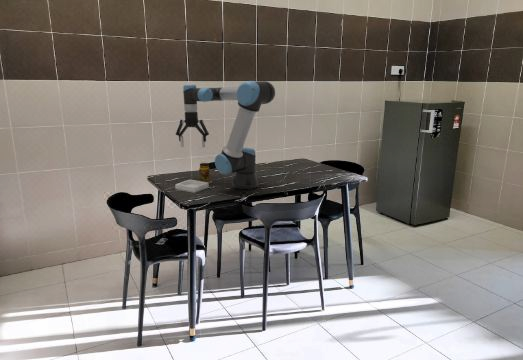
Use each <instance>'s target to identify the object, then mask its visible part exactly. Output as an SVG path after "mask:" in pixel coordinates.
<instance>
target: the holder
mask: <svg viewBox="0 0 523 360" xmlns="http://www.w3.org/2000/svg"><path fill="white" fill-rule="evenodd" d="M209 184H210V183H208V182H202V181H200V180H195V179H194V180H193V179H188V180H187V179H186V180H184V181H181V182H179V183H175V185H174V186H175V188H174V189H175V191H176V190H177V191H182V192H188V193H192V194H196V193H199V192H200V191H204V190H206V189H208V188H210V186H209Z"/></svg>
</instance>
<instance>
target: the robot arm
mask: <svg viewBox="0 0 523 360" xmlns="http://www.w3.org/2000/svg"><path fill="white" fill-rule="evenodd" d="M182 93H183V103H184V105H183V107H184V109H183V111H184V119H179V125H178V127H177V129H176V131H175V136H178V141H179V142H180V147H181V148H183V147H185V144H184V143H185V142H184V135H183V134H184V133H185V132H186V131H187V129H188V128H196V129H197V131H198V132H199V133H200V134H201V135H202V136H201V145H202V147H201V148H206V142H207V136H209V135H210V133H209V130H208V129H207V127H206V125H205V124H204V120H203V119H199V115H198V102H203V103H206V102H207V103H208V102H213V101H214V102H215V101H217V102H218V101H219V102H221V101H223V102H225V101H238V102H237V105H238V106H239V108H238V111H237V114H236V117H235V120H234V121H233V122H234V123H233V126H232V129H231V132H230V134H229V138H228V140H227V144H226V145H225V146H223V147H222V150H221V153H218V154H217V155H216V156H215V158H214V165H215V169H216V170H217V172H219V174H221V175H231V174H233V173H235V175H234V178H233V181H232V188H233V189H236V188H237V190H243V189H248V190H254V189H253V188H255V189H257V188H258V187H259V181H258V177H257V174H256V157H257V155H256V150H255V149H253V148H250V147H244V144H245V142H246V139H247V137H248V133H249V131H250V128H251V125H252V123H253V120H254V118H255V114H256V113H258V112H260V109H261V106H262V105H266V104H270V103H271V102H272V101H273V100H274V99H275V96H276V88H275V87H274V85H273V84H272V83H271V82H269V81H263V80H261V81H259V80H258V81H257V80H256V81H254V80H248V81H245V82H242V83H241V84H240V85H239V86H228V87H227V86H226V87H197V85H196V84H185V85H183V91H182ZM184 123H185V125H184ZM199 124H200V125H199ZM183 126H184V127H183ZM200 126H201V127H200ZM256 187H257V188H256Z"/></svg>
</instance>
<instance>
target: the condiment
mask: <svg viewBox="0 0 523 360" xmlns="http://www.w3.org/2000/svg"><path fill="white" fill-rule="evenodd" d="M198 169H199V181H202V182H208V183H209V184H211V183H213V181H211V179H210V174H211V173H210V167H209V163H207V162H201V163H199V168H198Z"/></svg>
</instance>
